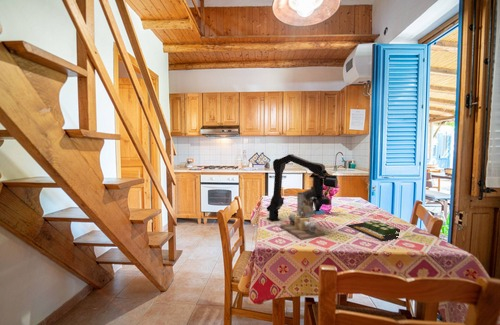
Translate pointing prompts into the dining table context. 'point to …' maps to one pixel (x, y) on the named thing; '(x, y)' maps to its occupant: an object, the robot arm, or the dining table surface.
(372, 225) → the sushi
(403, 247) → the dining table surface
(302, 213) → the lever
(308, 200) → the coffee box
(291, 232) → the valve board
